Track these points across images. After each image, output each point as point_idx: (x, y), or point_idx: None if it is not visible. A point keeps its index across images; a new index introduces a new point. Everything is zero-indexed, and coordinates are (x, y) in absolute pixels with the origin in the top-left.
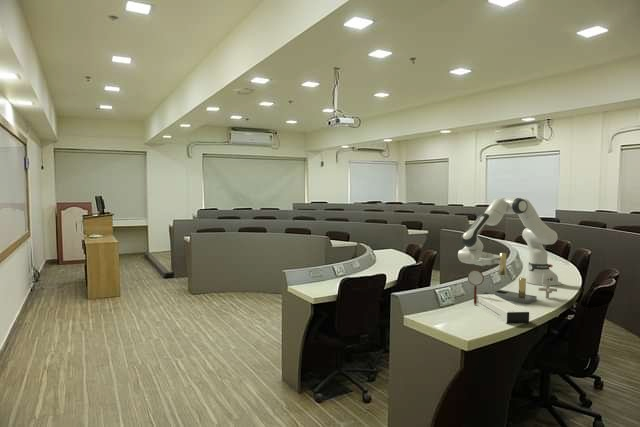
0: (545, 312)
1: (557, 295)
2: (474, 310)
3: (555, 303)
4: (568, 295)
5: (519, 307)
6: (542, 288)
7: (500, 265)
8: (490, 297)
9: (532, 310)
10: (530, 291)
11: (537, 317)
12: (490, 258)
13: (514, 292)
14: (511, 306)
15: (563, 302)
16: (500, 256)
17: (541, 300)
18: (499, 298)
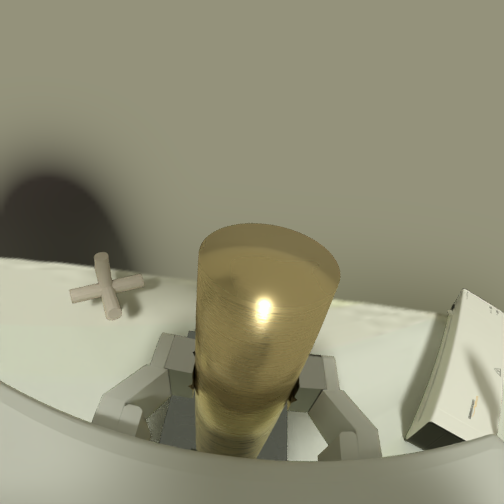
0: (336, 303)
1: (56, 290)
2: (501, 428)
3: (189, 293)
4: (46, 268)
5: (462, 307)
6: (115, 298)
7: (278, 417)
8: (474, 401)
9: (350, 330)
10: (20, 367)
11: (398, 308)
12: (431, 486)
13: (171, 421)
14: (475, 321)
15: (157, 277)
16: (314, 339)
17: (172, 329)
18: (456, 376)
